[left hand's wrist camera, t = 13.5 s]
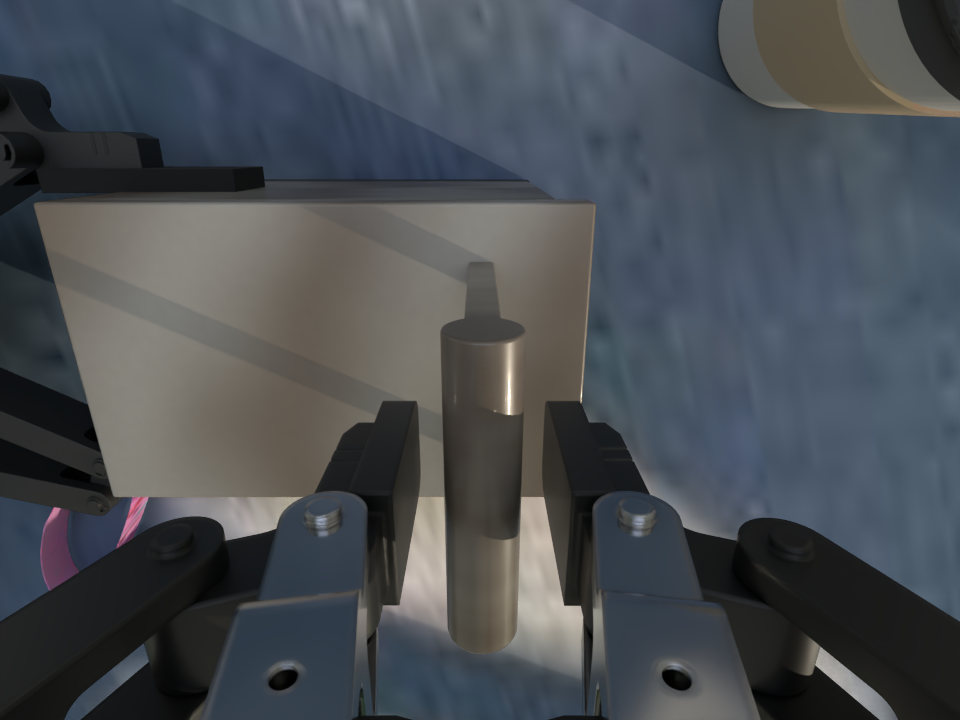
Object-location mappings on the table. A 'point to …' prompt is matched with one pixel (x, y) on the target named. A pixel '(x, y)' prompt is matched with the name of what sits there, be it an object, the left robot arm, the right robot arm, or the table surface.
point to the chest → (361, 190)
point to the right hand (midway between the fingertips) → (269, 315)
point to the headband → (55, 542)
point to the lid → (331, 351)
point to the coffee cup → (845, 54)
